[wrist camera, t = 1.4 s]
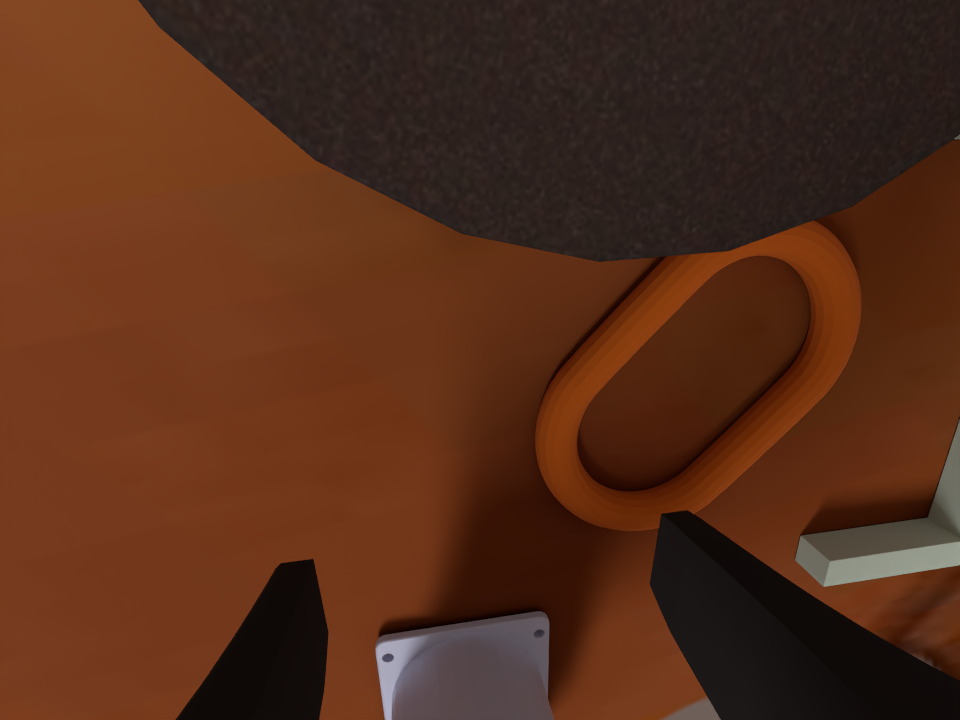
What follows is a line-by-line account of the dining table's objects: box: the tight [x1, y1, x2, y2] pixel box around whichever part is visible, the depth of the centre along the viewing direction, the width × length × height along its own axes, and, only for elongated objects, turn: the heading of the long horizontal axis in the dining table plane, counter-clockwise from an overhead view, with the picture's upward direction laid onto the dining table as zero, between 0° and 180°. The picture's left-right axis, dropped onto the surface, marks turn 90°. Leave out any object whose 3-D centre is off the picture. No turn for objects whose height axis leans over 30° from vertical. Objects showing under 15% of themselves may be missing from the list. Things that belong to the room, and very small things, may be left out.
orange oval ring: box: [535, 220, 862, 531], centre depth 20 cm, size 10×2×15 cm
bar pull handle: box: [795, 135, 960, 587], centre depth 21 cm, size 21×9×2 cm, turn 2°
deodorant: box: [139, 0, 960, 262], centre depth 9 cm, size 6×6×15 cm
